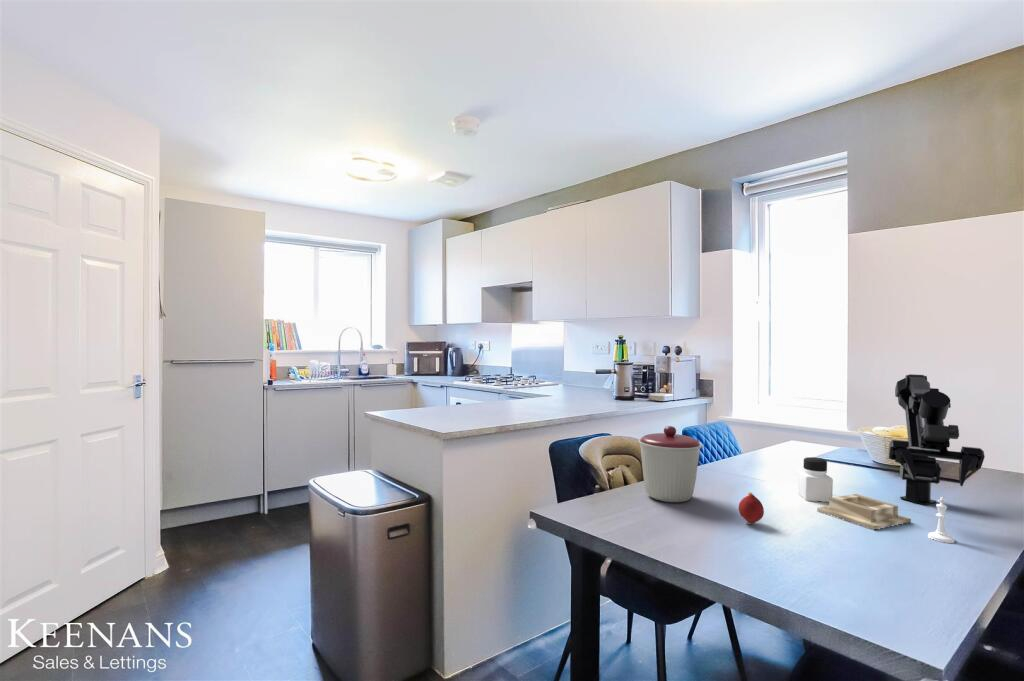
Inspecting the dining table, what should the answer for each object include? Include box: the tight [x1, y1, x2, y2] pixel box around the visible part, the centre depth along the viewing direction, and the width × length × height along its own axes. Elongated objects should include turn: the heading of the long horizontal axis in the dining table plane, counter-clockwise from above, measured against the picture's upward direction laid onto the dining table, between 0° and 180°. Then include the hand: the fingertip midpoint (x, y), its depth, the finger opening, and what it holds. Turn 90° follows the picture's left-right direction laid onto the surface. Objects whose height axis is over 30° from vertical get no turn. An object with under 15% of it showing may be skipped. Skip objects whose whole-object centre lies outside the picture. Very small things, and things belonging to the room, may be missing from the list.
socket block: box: [816, 493, 912, 530], centre depth 138 cm, size 15×15×4 cm
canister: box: [638, 425, 703, 503], centre depth 152 cm, size 18×18×21 cm
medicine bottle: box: [797, 456, 834, 503], centre depth 154 cm, size 7×7×12 cm
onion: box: [738, 491, 765, 525], centre depth 131 cm, size 6×6×8 cm
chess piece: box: [927, 496, 955, 544], centre depth 123 cm, size 5×5×10 cm
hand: (937, 482), depth 128 cm, fingers open, 9 cm apart
